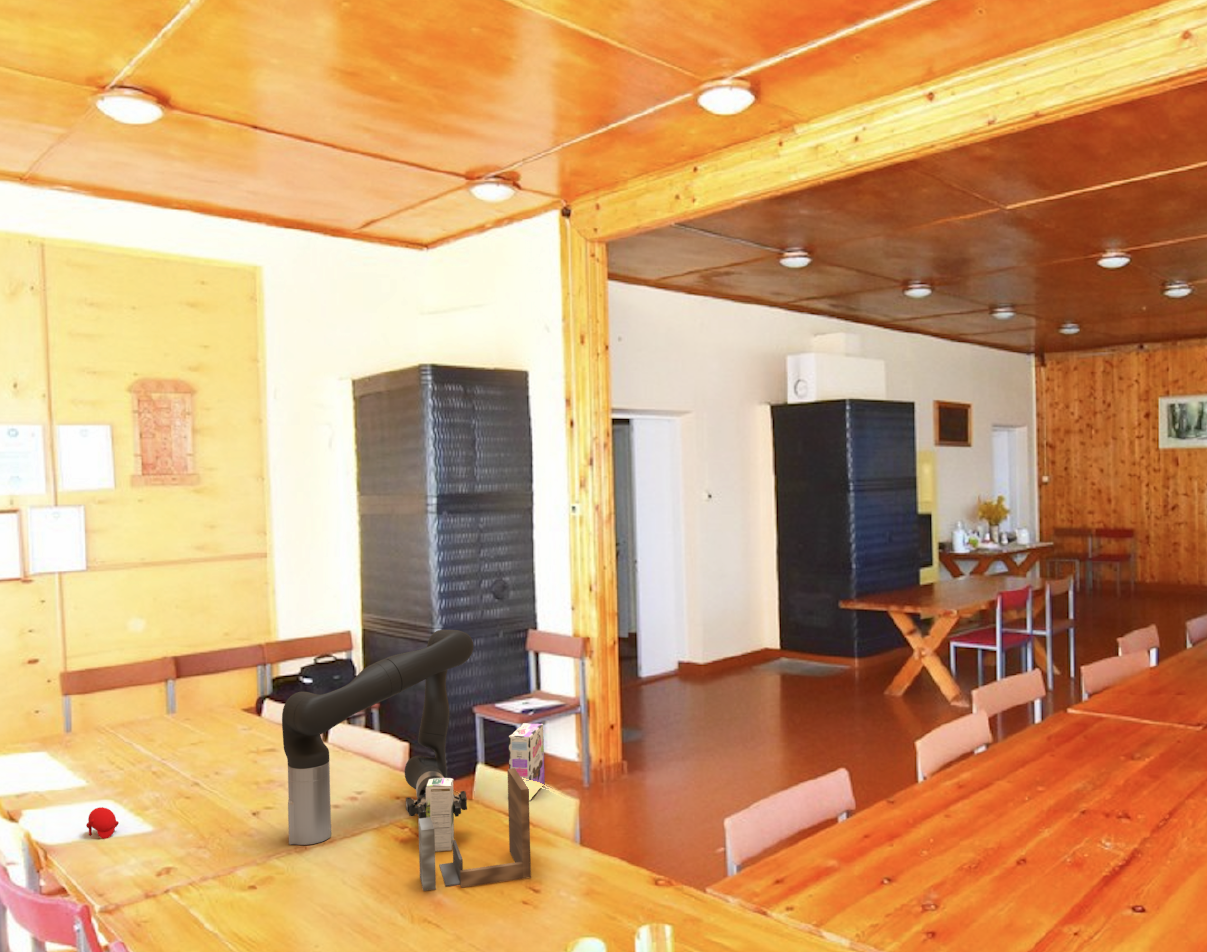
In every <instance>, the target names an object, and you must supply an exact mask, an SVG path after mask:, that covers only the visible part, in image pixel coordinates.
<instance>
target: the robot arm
mask: <svg viewBox="0 0 1207 952" xmlns="http://www.w3.org/2000/svg"><path fill="white" fill-rule="evenodd" d="M473 651H474V642H473V638H472V637H471V636H470V634H468V633H467V632H464V631H462V630H457V629H439V630H436V631H434V632H433V633H432V634H431V635H430V637H429V638H428V642H427V646H426V647H423V648H421V649H418V650H411V651H406V652H403V653H398V654H394V655H391V656H388V657H385V658H383V659H381V660H378V661H376V662H373V663H372V664H370V665H368V666H366V667H365V668H363V669H362V670H361V671H360V672H359V673H358V674H357V675H356V676H355V677H354V678H353V679H352V680H351V681H350V682H348V683H347V684H346V685H344V686H342V687H339V688H337V689H334V690H332V691H329V692H326V693H323V694H318V693H313V692H309V691H299V692H295V693H293V694H292V695H290V697H288V698H287V700H285V703H284V705H283V708H282V716H281V725H282V727H281V728H282V742H283V750H284V751H283V752H284V754H285V756H286V758H287V759H286V760H287V783H288V784H287V786H288V787H287V790H288V791H287V792H288V798H287V799H288V800H287V801H288V802H287V817H288V820H287V821H288V822H287V823H288V824H287V825H288V845H297V846H298V845H301V846H304V845H305V846H306V845H307V846H308V845H313V844H317V843H318V844H319V843H322V842H325V841H327V840H328V839H330V838H331V836H332V819H331V818H332V812H331V811H332V808H331V775H330V774H331V773H330V772H331V771H330V769H331V768H330V750H329V748H328V746H327V745H326V744H325V743H324V741H323V739H322V736H321V735H323V734H324V733H326V732H328V731H329V730H331V729H333V728H335V726H337V725H339V724H341V723H342V722H344V721H345V720H347V719H349V718H350V717H352V716H354V715H355V714H357V713H360V712H361V711H364V710H366V709H368V708H370V707H372V706H374V705H376V704H379V703H381V702H383V701H385V700H388V699H390V698H391V697H392V698H393V697H394V696H397V695H398V694H400V693H402V692H403V691H405V690H407V689H410V688H411V687H413V686H415V685H417V684H419V683H421V682H422V681H424V680H425V681H424V682H425V684H424V685H425V686H424V687H425V689H424V701H423V708H422V715H421V721H420V724H419V725H420V727H419V731H418V736H417V737H418V739H417V742H418V744H419V745H420V746H422V747H425V748H427V749H430V750H432V751H433V753H434V757H428V756H421V755H415V756H411V758H409V759H408V761H407V762H406V764H405V767H404V777H405V781H406V783H407V784H408V785H409V786H410V787H411V788H413V789H414V790H415V792H416V794H415V795H416V798H417V799H414V798H412V797H410V796H408V797H406V798H405V810H406V811H407V813H408V814H407V815H408V816H409V817H415V816H416V815H417V816H418V819H420V818H426V786H427V783H428V781H429V779H434V778H448V767H447V759H446V758H447V757H446V740H447V734H448V729H449V724H450V716H451V714H450V704H449V699H448V692H447V674H448V670H450V669H453V668H456V667H458V666H462V665H463V664H465V663H466V662H467V661H468V660H469V659H470V657H471V656H472V655H473ZM453 796H454V802H453V811H454V817H456V818H457V817H459V815H461V814H462V811H466V810H468V803H467V800H468V798H467V797H468V796H467V792H466V790H461V791H460V792H459V793H458V794H454V793H453Z"/></svg>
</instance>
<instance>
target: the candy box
mask: <svg viewBox="0 0 1207 952" xmlns="http://www.w3.org/2000/svg"><path fill="white" fill-rule="evenodd" d="M544 744H545V743H544V724H543V723H526V722H524V723H522V724H521V725H520V726H519V727H518V728H517V729H516V730H515V731H513V733H511V734H510V735H508V763H509V764H508V765H509V767H508V769H513V768H515V769H516V771H517V772H518V774H519V775H520V777H521V778H522V777H523V778H526V779H529V780H533V781H537V782H540V783H542V784H544V785H545V782H546V781H545V749H544V747H545V745H544ZM522 780H524V779H522ZM529 780H526V781H529ZM524 783H525V782H524Z"/></svg>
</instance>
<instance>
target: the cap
mask: <svg viewBox="0 0 1207 952" xmlns="http://www.w3.org/2000/svg"><path fill="white" fill-rule="evenodd" d="M87 821H88V822H87V823H86V828H87V829H88V836H92V832H93V830H92V829H94V830H96V833H97V836H98V837H99V838H100V839H102V840H106V839H109V838H110V837H111V836H112V835H113V834H114V833H115V829H116V828H117V827H118V825H119V824H120V823H119V821H117V819H116V815H115V813H114V812H113V811H112V810H110V808H107V807H103V806H102V807H101V806H100V807H97V808H94V809H93V810H92V811H91V812H89V815H88V819H87Z"/></svg>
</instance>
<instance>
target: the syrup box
mask: <svg viewBox="0 0 1207 952" xmlns="http://www.w3.org/2000/svg"><path fill="white" fill-rule="evenodd" d="M453 794H454V778H451V777H446V778H434V779H429V781H428V783H427V786H426V818H428V817H431V820H432V823H433V826H434V833H435V853H436V852H447V851H450V852H451V851H453V840H455V828H454V827H455V823H454V822H455V820H454V819H455V818H454V817H455V814H454V811H453V802H454V796H453Z"/></svg>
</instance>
